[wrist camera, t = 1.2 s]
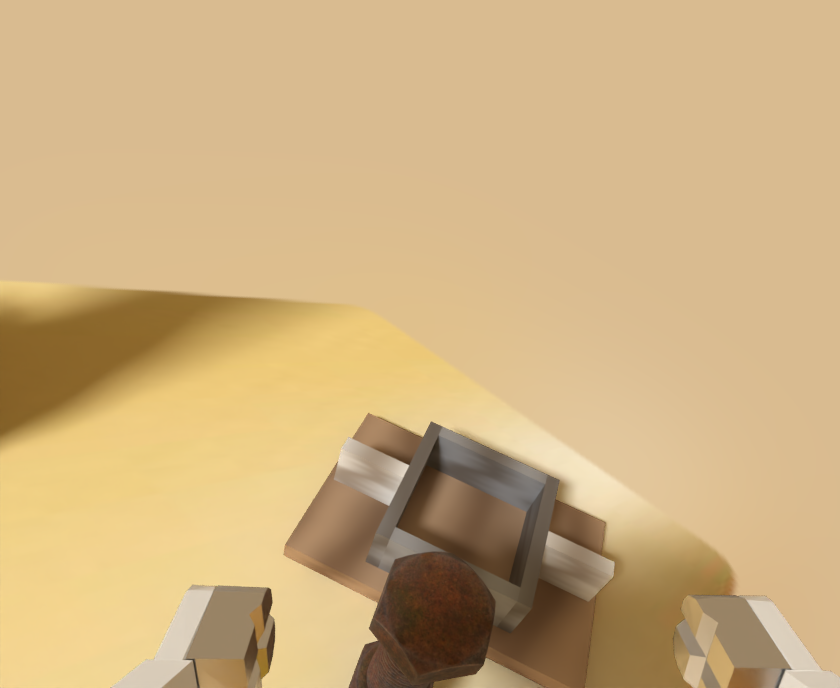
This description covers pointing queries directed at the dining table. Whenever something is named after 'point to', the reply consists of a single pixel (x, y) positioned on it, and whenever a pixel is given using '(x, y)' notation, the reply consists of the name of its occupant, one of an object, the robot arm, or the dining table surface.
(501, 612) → the square frame on board
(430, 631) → the bolt
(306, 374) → the dining table surface
